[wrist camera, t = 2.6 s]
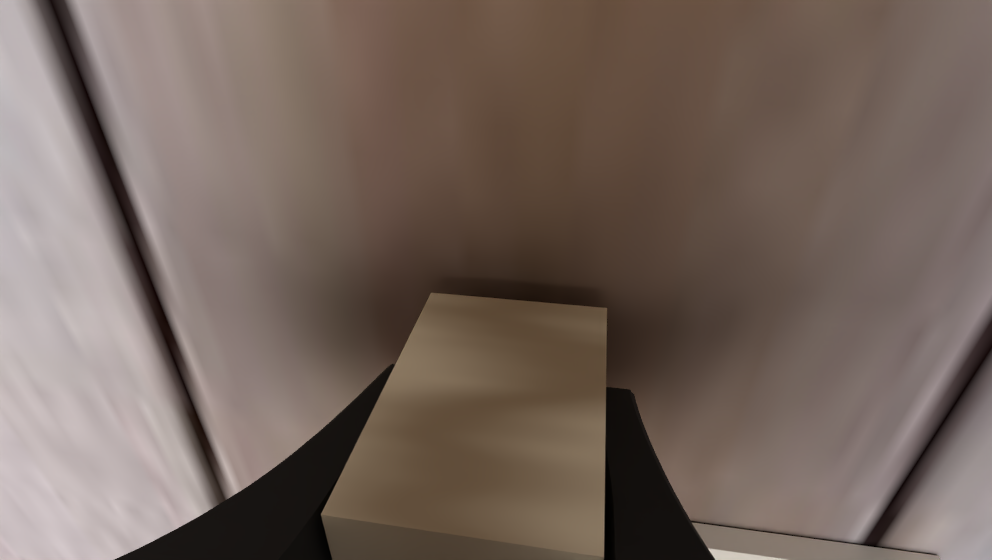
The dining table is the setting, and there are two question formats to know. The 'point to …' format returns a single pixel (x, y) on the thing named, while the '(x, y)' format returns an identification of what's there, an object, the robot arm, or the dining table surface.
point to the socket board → (790, 547)
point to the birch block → (482, 440)
